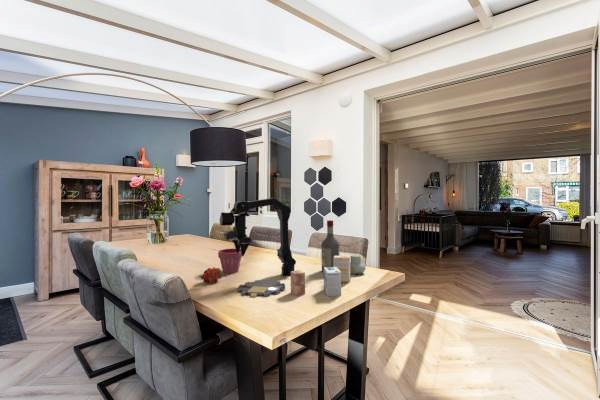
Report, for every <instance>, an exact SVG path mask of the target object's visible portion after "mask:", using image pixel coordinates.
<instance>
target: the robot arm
mask: <svg viewBox="0 0 600 400" xmlns="http://www.w3.org/2000/svg"><path fill="white" fill-rule="evenodd" d="M268 206H271V207H272V208H273V209H274V210H275V211H276V213H277V218H278V219H279V234H280V235H279V237H280V239H279V240H280V246H279V248H277V249H276V252H277V254H276V256H277V258H278V259H279V261H280V262H281V263H282V265H281V275H283V276H284V277H289V276H290V277H291V271H295V266H296V263H297V261H296V259H295V258H294V257H293V254H292V250H291V248H290V242H289V238H290V237H289V219H290V218H291V217H290V216H291V207H290V206H288V205H285V204H284V203H282V202H281V201H279V200H278V199H277V198H275V197H268V198H264V199H257V200H251V201H248V200H247V201H246V200H245V201H244V200H242V201H241V200H238V201H237V200H236V202H234V204H233V207H232V209H231V210H230V212H223V211H221V212H220V217H219V226H220V227H221V226H233V224H234V226H233V227H232V229H231V230H228V231H226V232H224V233H223V236H224V239H225V240H226V241H229V240H230V241H231V242H232V243H233V244H234V245H233V246H234V249H236V253H239V250H240V249H241V255H242V257H244V256H245V254H246V252H247V250H248V248H249V246H250V244H251V243H252V238H251V237H249V236H248V235H247V233H246V232H247V231H246V230H247V229H248V227H247V225H246V220H247V219H246V218H247V217H250V216H251V215H250V214H249V213H248V211H250V210H253V209H256V208H261V207H263V208H264V207H268Z"/></svg>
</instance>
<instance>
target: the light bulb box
mask: <svg viewBox="0 0 600 400" xmlns="http://www.w3.org/2000/svg"><path fill="white" fill-rule="evenodd" d="M323 291H324V292H325V295H326V296H327V297H338V296H339V297H341V296H342V282H341V272H340V270H339V269H338V268H337V267H324V272H323Z"/></svg>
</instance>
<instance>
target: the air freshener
mask: <svg viewBox="0 0 600 400" xmlns="http://www.w3.org/2000/svg"><path fill="white" fill-rule="evenodd" d="M366 269H367V268H366V265H365V263H362V256H361V255H360V254H351V255H350V274H352V275H360V274H363V273H364V272H365V271H366Z"/></svg>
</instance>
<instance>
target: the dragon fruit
mask: <svg viewBox="0 0 600 400" xmlns="http://www.w3.org/2000/svg"><path fill="white" fill-rule="evenodd" d="M222 277H223V270H221V269H220V268H218V267H217V268H216V267H214V266H212V268H210V267H208V268H207V269H206V270H204V272H203V273H202V275H201V276H200V279H201V280H202V282H203V283H211V284H214V283H217V282H218V280H221V279H222Z"/></svg>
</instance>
